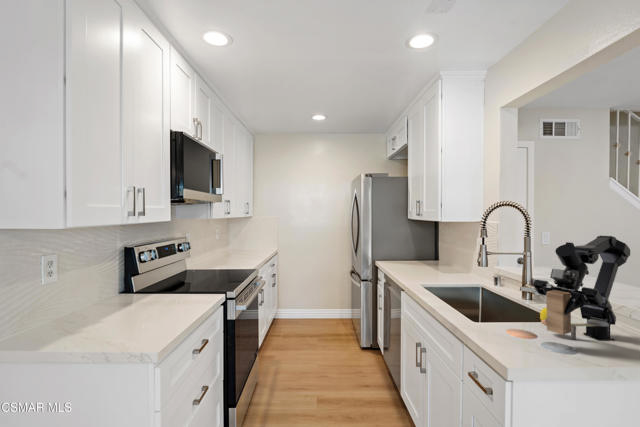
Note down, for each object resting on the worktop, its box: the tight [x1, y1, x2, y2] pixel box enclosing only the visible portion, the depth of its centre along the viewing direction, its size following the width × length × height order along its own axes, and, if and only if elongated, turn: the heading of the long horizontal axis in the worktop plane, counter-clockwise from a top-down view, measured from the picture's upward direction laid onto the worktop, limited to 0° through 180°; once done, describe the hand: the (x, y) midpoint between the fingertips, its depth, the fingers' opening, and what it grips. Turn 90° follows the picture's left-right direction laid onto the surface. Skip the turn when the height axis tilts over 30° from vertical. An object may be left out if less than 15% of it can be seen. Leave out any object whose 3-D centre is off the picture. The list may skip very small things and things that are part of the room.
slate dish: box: [540, 341, 579, 355], centre depth 105 cm, size 10×10×1 cm
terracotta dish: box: [505, 328, 538, 340], centre depth 118 cm, size 10×10×1 cm
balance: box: [540, 319, 609, 341], centre depth 113 cm, size 19×6×9 cm, turn 53°
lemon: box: [539, 307, 547, 321], centre depth 130 cm, size 6×6×8 cm
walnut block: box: [546, 290, 572, 335], centre depth 105 cm, size 5×5×13 cm
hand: (556, 311), depth 105 cm, fingers closed on walnut block, 5 cm apart
